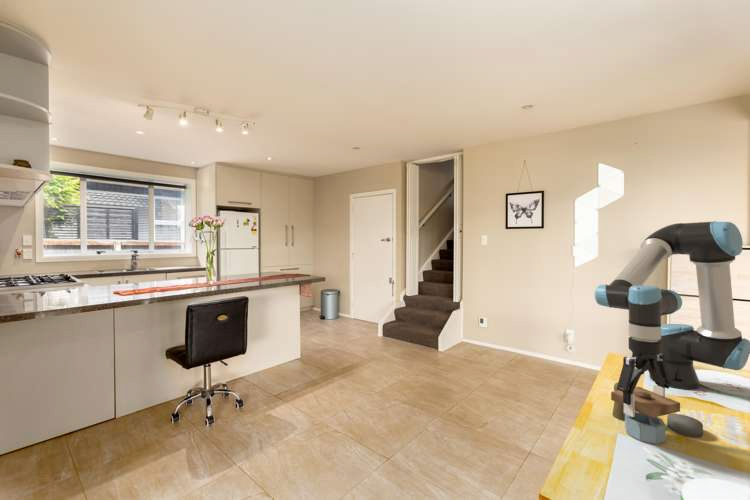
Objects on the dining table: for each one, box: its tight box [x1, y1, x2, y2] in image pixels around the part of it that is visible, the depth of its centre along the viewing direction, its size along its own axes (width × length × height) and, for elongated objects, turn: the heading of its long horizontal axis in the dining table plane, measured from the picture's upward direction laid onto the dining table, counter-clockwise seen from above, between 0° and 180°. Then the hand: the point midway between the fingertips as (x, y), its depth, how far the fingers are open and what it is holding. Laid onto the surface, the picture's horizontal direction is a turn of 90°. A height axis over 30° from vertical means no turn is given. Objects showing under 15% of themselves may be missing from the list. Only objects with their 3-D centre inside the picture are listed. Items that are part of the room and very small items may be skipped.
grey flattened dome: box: [666, 413, 704, 439], centre depth 103 cm, size 8×8×3 cm
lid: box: [610, 386, 681, 418], centre depth 101 cm, size 12×12×4 cm
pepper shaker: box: [612, 381, 625, 422], centre depth 111 cm, size 6×6×11 cm
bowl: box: [624, 411, 667, 445], centre depth 101 cm, size 9×9×5 cm
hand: (644, 411), depth 101 cm, fingers closed on lid, 11 cm apart
